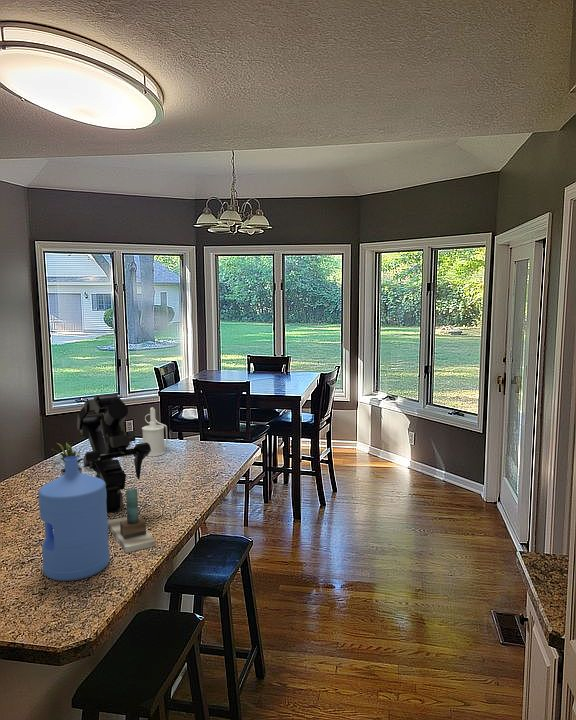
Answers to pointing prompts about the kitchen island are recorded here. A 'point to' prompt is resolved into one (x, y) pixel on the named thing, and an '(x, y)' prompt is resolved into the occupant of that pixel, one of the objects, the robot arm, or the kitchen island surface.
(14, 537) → the kitchen island surface
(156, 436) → the white oil can
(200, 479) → the kitchen island surface
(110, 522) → the off-white shallow tray
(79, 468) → the house plant
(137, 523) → the teal brown tall piece
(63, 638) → the kitchen island surface
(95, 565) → the water jug
